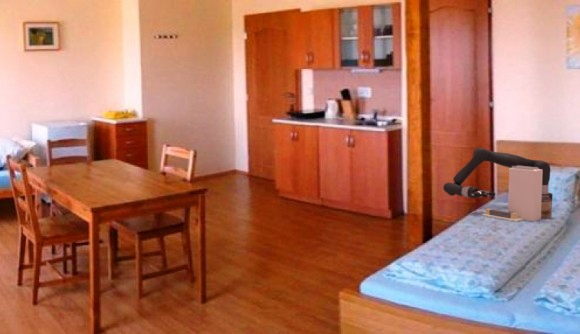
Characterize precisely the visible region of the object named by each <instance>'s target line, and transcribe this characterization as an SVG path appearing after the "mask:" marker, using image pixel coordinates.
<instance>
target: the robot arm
mask: <svg viewBox="0 0 580 334" xmlns="http://www.w3.org/2000/svg"><path fill="white" fill-rule="evenodd" d="M484 162H489V163H493V164H496V165H499V166H502V167H506V168H512V166H515V167H517V166H527V167H537V168H539V169H541V170H543V174H542V192H545V193H549V183H550V177H551V165H550V164H549V162H546V161H544V160H539V159H538V160H537V159H530V158H526V157H523V156H519V155H516V154H511V153H508V152H507V153H506V152H497V151H492V150H489V149H486V148H484V147H476V148H475V149H474V150H473V151H472V158H471V159H470V160H469V162H468V163H466V164H465V166H463V167H462V168H461V169H460V170H459V171H458V172H457V173H456V174H455V175H454V176H453V179H452V180H453V182H445V183H444V184H443V187H442V189H443V191H444V192H445V194H448V196H455V195H457V196H458V197H459V196H460V197H465V198H470V199H477V198H485V199H487V198H488V196H489V197H490V196H491V197H495V196H496V193H495V192H492V191H491V190H479V188H478V187H476V186H469V185H462V184H463V183H464V182H465V181H466V180H467V179H468V177H469V176H470V175H471V174H472V173H473V172H474V171H475V170H476V169H477V168H478V167H479V166H480V165H481V164H482V163H484Z"/></svg>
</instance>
